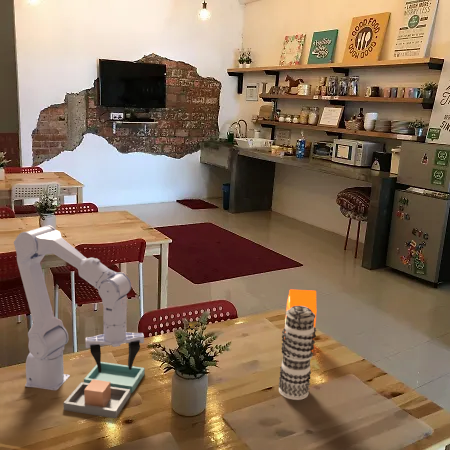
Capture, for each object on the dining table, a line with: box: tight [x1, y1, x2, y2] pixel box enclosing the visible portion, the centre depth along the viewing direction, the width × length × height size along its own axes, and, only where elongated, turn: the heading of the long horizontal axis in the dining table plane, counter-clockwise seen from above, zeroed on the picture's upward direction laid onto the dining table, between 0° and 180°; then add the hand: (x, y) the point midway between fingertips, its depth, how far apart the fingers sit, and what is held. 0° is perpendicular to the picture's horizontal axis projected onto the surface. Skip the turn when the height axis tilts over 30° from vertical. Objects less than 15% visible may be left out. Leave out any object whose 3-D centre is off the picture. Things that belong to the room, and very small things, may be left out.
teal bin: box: [83, 361, 146, 394], centre depth 142 cm, size 14×10×2 cm
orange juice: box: [284, 289, 318, 353], centre depth 166 cm, size 8×9×20 cm
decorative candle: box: [278, 306, 317, 401], centre depth 139 cm, size 9×9×25 cm
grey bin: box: [63, 381, 131, 419], centre depth 131 cm, size 14×10×2 cm
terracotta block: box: [84, 379, 111, 407], centre depth 131 cm, size 5×5×5 cm
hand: (114, 369), depth 131 cm, fingers open, 7 cm apart
